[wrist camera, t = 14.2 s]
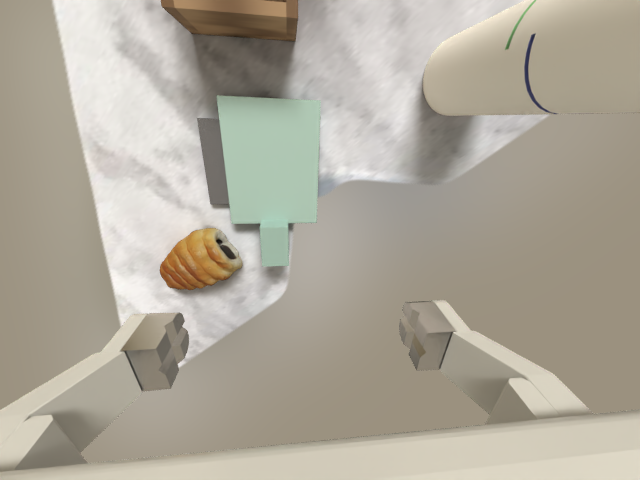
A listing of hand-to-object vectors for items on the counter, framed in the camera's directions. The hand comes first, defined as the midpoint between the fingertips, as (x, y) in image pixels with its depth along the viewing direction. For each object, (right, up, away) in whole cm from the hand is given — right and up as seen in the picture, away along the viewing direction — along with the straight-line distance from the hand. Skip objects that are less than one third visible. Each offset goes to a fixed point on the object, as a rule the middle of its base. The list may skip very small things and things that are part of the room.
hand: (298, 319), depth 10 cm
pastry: (-13, +1, +22) cm, 26 cm away
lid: (-4, +9, +19) cm, 21 cm away
